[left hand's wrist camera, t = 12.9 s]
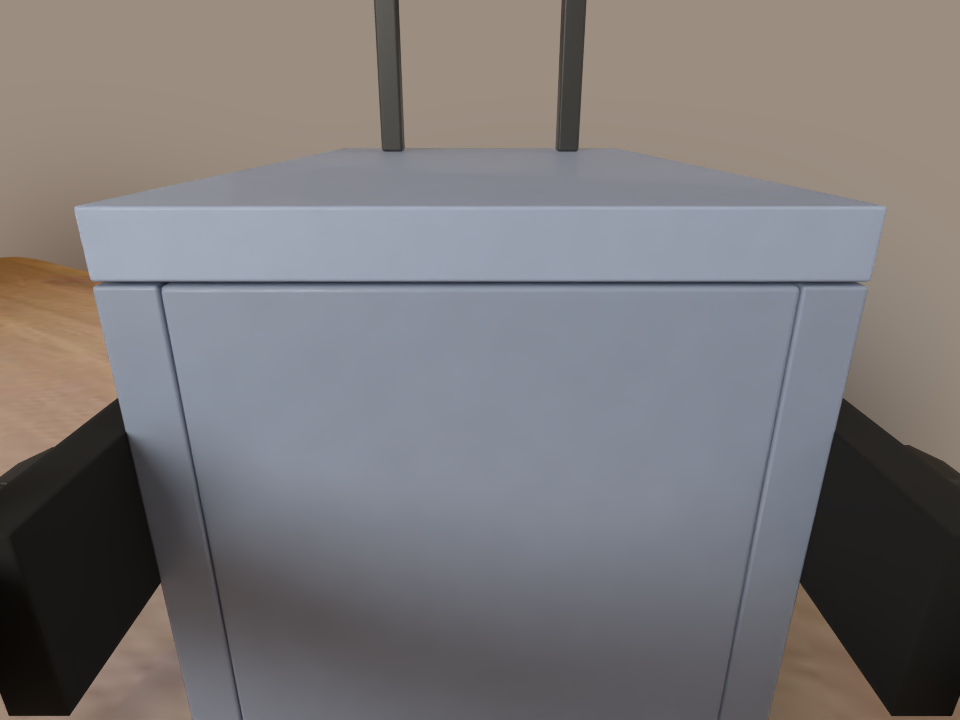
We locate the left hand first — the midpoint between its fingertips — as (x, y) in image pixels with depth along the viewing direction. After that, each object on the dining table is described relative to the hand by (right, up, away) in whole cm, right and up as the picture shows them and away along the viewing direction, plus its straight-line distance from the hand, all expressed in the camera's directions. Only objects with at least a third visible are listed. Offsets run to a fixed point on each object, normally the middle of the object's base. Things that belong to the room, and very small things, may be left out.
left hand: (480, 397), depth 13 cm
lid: (0, +5, +3) cm, 5 cm away
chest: (0, -5, +6) cm, 8 cm away
